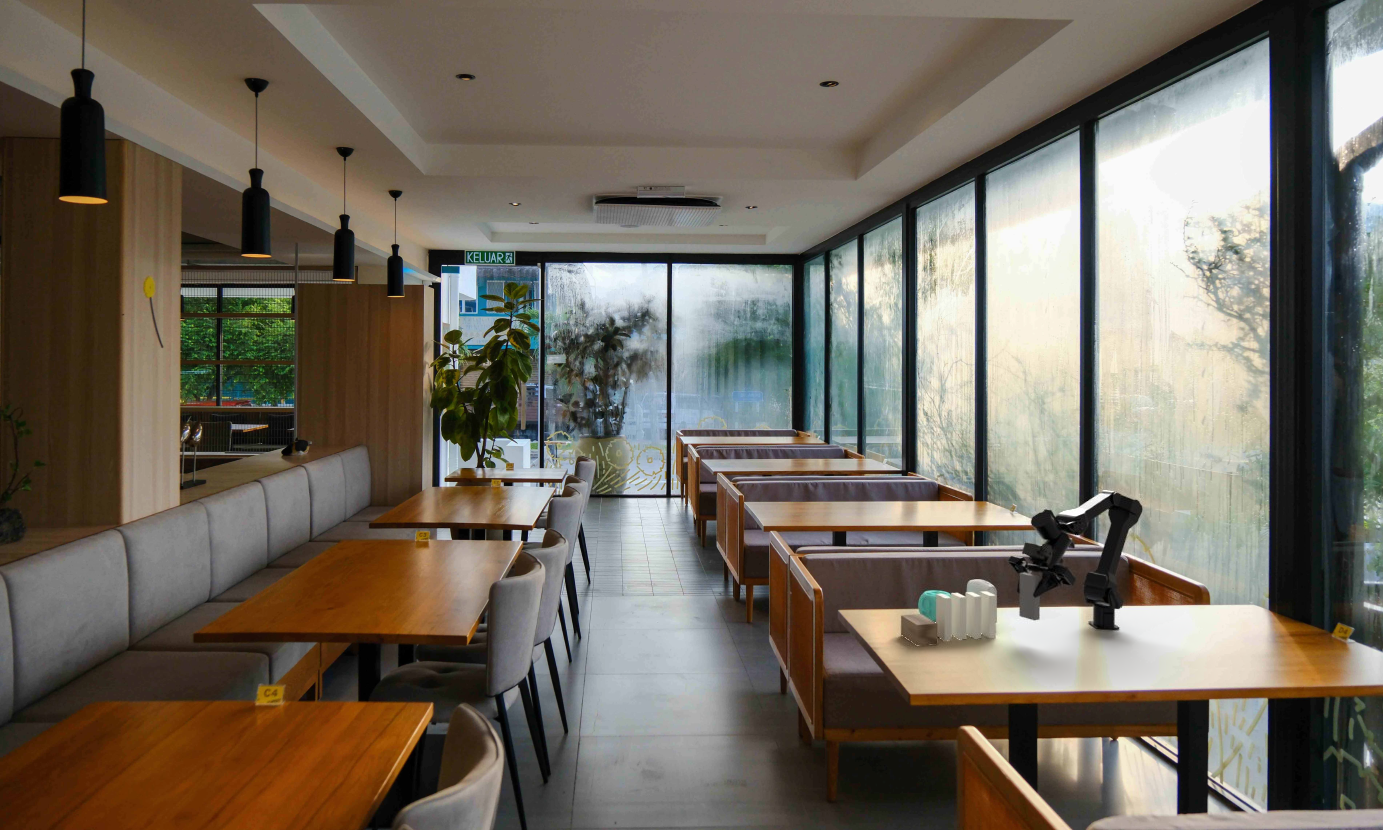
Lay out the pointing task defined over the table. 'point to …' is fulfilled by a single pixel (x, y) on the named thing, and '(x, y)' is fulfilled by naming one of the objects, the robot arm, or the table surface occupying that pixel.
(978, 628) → the ivory domino
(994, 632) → the ivory domino
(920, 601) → the decorative dice
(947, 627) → the ivory domino
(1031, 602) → the charcoal domino
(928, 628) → the walnut end block
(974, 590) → the white rounded block
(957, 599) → the ivory domino
